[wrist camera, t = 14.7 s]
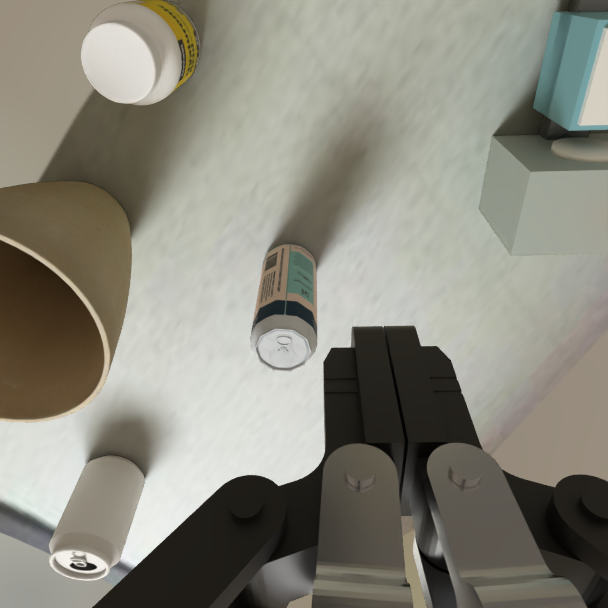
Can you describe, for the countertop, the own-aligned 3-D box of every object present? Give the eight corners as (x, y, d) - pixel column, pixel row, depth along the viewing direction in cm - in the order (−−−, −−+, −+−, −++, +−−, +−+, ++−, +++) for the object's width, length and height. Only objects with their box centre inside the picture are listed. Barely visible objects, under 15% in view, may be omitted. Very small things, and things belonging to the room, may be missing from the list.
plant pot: (128, 112, 37) (25, 191, 24) (197, 277, 45) (149, 404, 32) (-45, 156, 39) (-227, 252, 26) (50, 306, 47) (-51, 437, 34)
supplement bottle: (213, 73, 35) (184, 103, 27) (144, 93, 36) (96, 129, 28) (184, -14, 32) (141, -8, 24) (110, 10, 33) (44, 24, 25)
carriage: (553, 12, 32) (601, 20, 27) (637, 9, 32) (702, 17, 27) (532, 107, 36) (571, 132, 30) (608, 105, 35) (661, 130, 30)
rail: (605, -148, 28) (618, -153, 27) (657, -150, 28) (673, -156, 27) (538, 134, 37) (546, 140, 36) (578, 133, 37) (587, 139, 36)
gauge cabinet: (493, 130, 37) (532, 165, 31) (634, 126, 37) (704, 161, 30) (478, 209, 41) (510, 255, 34) (607, 206, 41) (665, 252, 34)
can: (93, 488, 63) (52, 584, 53) (79, 450, 59) (32, 547, 49) (151, 489, 63) (121, 586, 53) (141, 451, 59) (106, 549, 49)
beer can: (262, 285, 45) (248, 373, 36) (263, 239, 43) (249, 321, 33) (314, 289, 46) (314, 378, 36) (318, 243, 43) (320, 326, 33)
